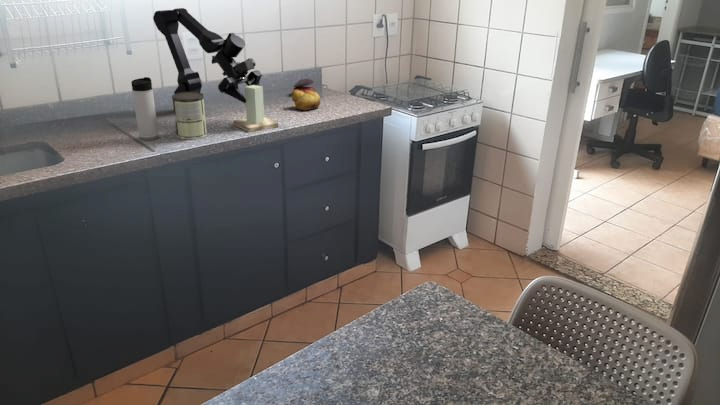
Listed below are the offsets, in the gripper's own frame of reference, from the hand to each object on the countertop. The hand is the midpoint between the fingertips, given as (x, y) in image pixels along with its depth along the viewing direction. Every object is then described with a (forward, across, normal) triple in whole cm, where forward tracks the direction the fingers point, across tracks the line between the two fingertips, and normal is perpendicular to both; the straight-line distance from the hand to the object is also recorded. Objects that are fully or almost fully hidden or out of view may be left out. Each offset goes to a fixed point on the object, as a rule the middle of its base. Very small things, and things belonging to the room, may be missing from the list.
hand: (254, 99), depth 198 cm
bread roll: (+8, +33, +6) cm, 35 cm away
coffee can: (0, -22, +14) cm, 26 cm away
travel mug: (-7, -32, +21) cm, 39 cm away
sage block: (+6, 0, +6) cm, 8 cm away
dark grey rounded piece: (-3, +52, +17) cm, 55 cm away
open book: (+7, 0, +7) cm, 10 cm away
